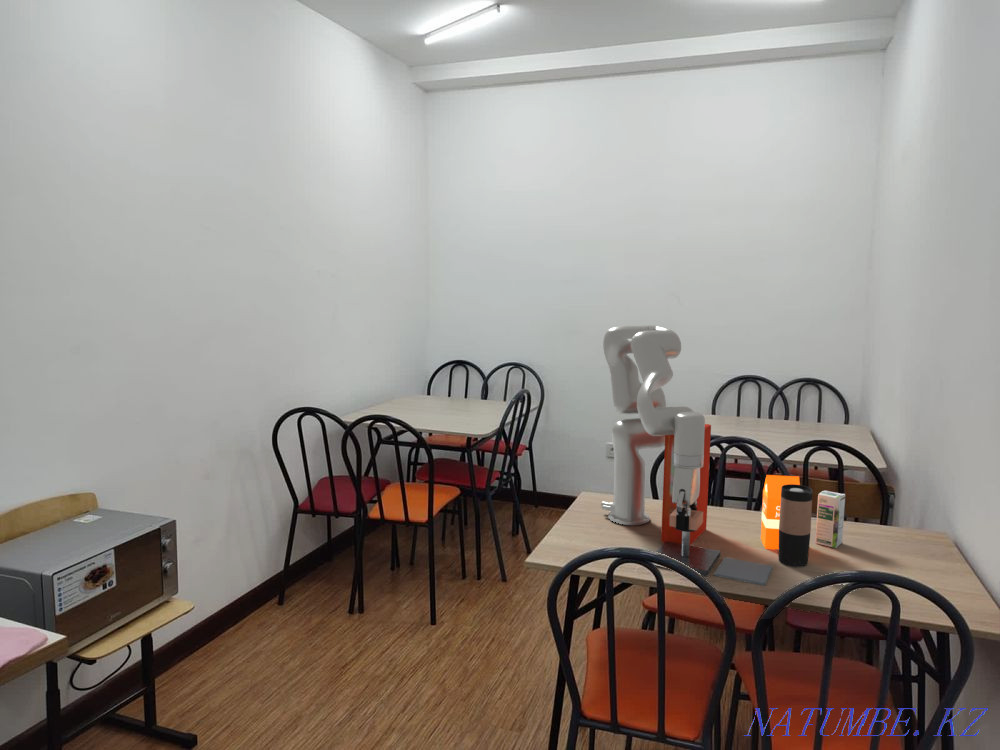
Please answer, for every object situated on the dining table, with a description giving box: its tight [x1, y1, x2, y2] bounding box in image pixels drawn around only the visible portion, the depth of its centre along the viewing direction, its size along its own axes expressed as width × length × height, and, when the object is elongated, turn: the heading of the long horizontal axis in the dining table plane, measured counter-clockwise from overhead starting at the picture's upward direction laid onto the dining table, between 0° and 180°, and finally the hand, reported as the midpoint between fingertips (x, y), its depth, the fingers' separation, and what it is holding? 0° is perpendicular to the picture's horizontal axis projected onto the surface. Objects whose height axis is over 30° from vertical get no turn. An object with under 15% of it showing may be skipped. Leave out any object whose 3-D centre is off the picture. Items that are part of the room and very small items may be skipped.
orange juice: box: [760, 474, 801, 551], centre depth 196 cm, size 8×9×20 cm
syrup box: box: [814, 490, 846, 549], centre depth 198 cm, size 6×6×14 cm
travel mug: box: [778, 484, 813, 568], centre depth 184 cm, size 8×8×20 cm
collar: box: [669, 508, 703, 530], centre depth 185 cm, size 7×7×3 cm
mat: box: [713, 557, 774, 587], centre depth 179 cm, size 12×12×1 cm
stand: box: [655, 507, 722, 577], centre depth 186 cm, size 15×15×14 cm
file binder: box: [660, 423, 712, 546], centre depth 203 cm, size 8×17×32 cm, turn 148°
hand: (686, 525), depth 185 cm, fingers closed on collar, 7 cm apart
